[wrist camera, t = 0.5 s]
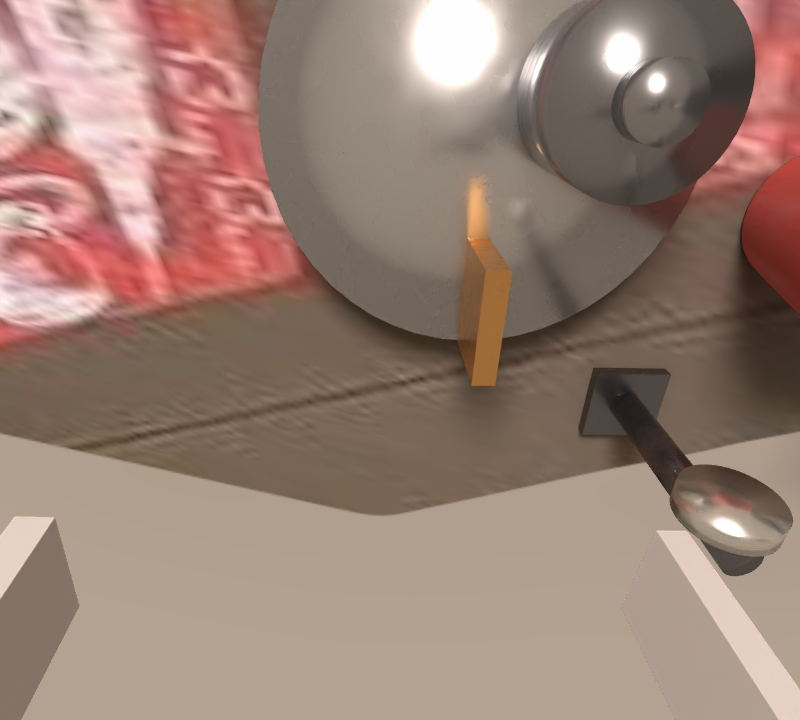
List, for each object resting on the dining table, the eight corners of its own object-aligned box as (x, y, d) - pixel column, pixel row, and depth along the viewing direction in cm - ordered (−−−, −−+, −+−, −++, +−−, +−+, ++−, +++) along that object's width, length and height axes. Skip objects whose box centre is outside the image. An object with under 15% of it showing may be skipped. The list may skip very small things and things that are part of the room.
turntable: (766, -135, 23) (912, -208, 17) (636, 329, 33) (695, 388, 27) (245, -175, 22) (195, -271, 15) (280, 322, 32) (259, 383, 26)
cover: (710, -3, 23) (819, -25, 18) (660, 185, 27) (736, 217, 22) (531, -14, 23) (584, -40, 17) (505, 180, 27) (542, 211, 21)
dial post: (665, 368, 36) (822, 531, 24) (645, 428, 39) (779, 604, 26) (593, 367, 36) (714, 531, 23) (578, 428, 39) (680, 606, 26)
